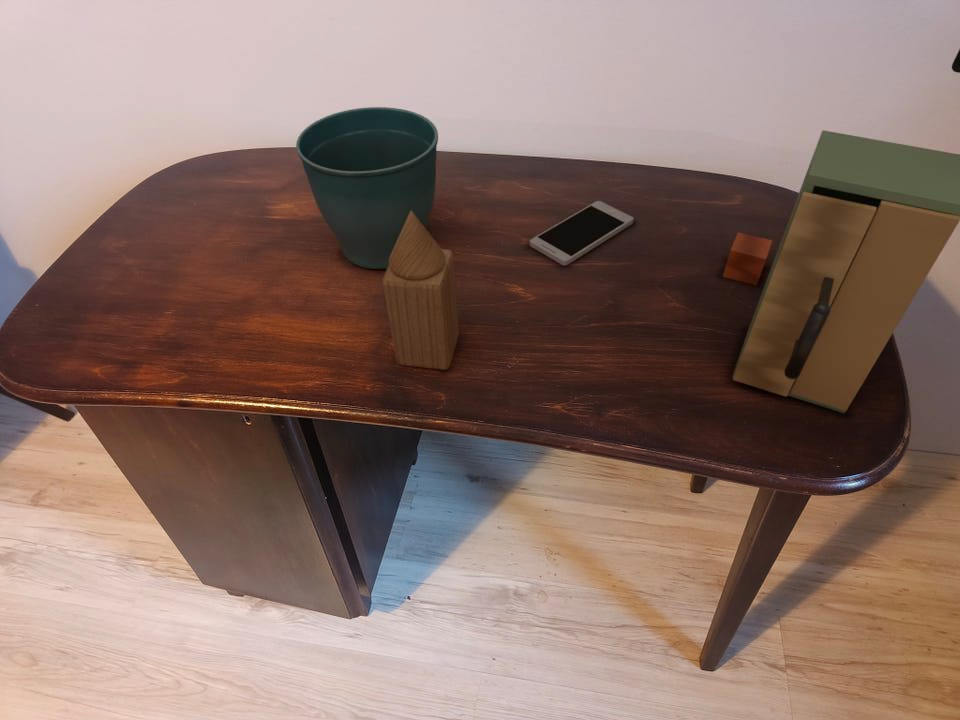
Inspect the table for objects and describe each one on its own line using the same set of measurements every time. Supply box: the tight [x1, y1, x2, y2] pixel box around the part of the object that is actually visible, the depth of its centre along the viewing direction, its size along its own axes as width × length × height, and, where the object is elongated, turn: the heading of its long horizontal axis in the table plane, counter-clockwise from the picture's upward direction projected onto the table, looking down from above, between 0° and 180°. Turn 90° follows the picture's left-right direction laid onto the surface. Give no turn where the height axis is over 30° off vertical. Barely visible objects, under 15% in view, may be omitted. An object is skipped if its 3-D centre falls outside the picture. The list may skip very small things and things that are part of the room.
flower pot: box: [295, 106, 439, 270], centre depth 88 cm, size 18×18×17 cm
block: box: [722, 232, 773, 287], centre depth 85 cm, size 4×4×4 cm
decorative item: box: [382, 210, 460, 371], centre depth 71 cm, size 7×7×20 cm
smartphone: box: [529, 200, 634, 266], centre depth 94 cm, size 7×16×1 cm, turn 132°
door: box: [732, 192, 877, 398], centre depth 61 cm, size 6×6×24 cm
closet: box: [731, 129, 960, 414], centre depth 65 cm, size 12×10×26 cm
